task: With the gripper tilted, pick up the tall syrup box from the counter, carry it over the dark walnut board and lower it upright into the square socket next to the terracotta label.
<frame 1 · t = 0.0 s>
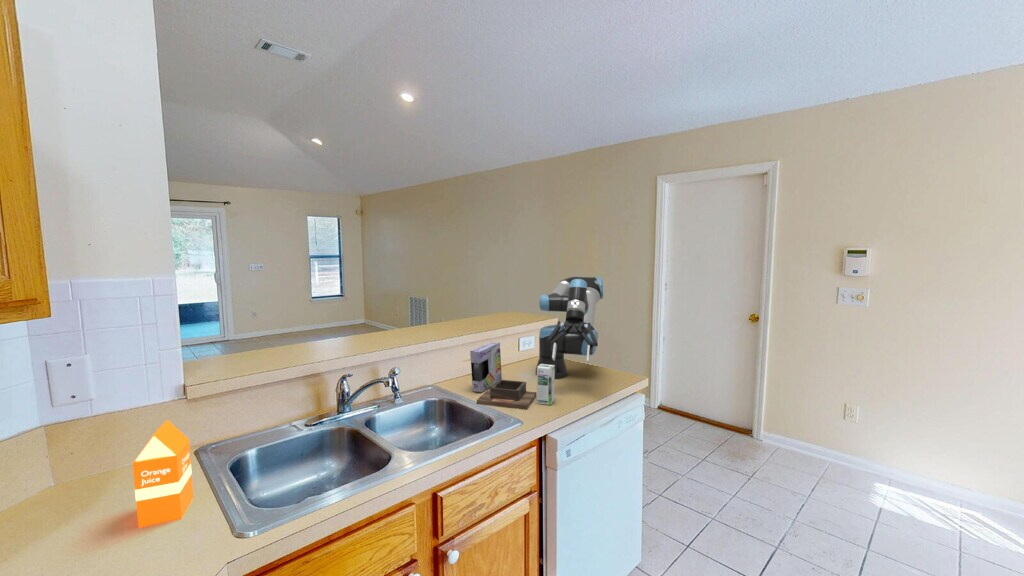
hand: (570, 360, 164), 15 cm above the worktop, tool tilted 35°, fingers open, 13 cm apart
socket board: (507, 399, 164), on the worktop
cake pan box: (487, 386, 179), on the worktop
syrup box: (545, 402, 161), on the worktop
orange juice: (167, 512, 94), on the worktop
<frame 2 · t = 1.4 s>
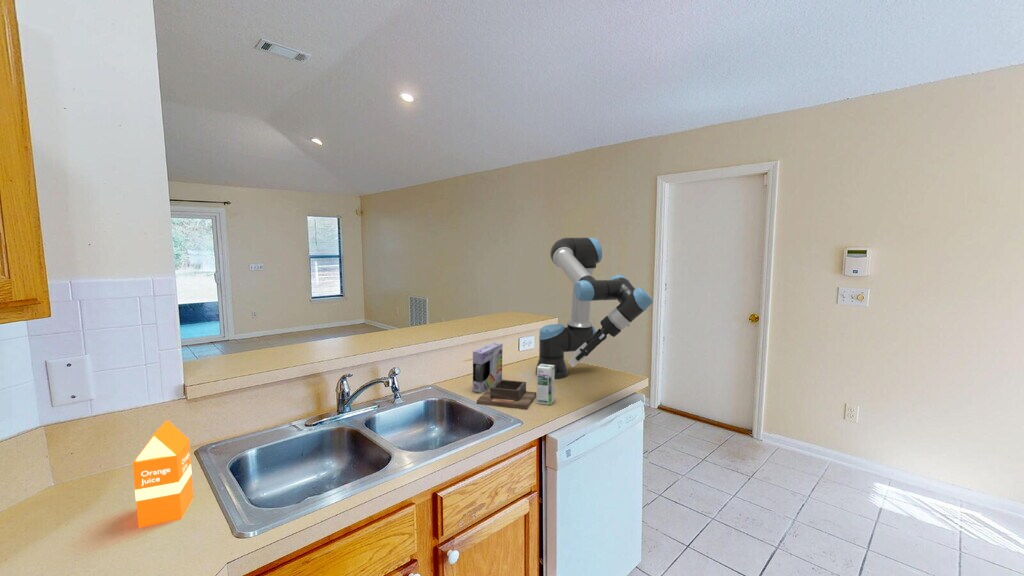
hand: (573, 360, 156), 18 cm above the worktop, tool tilted 45°, fingers open, 13 cm apart
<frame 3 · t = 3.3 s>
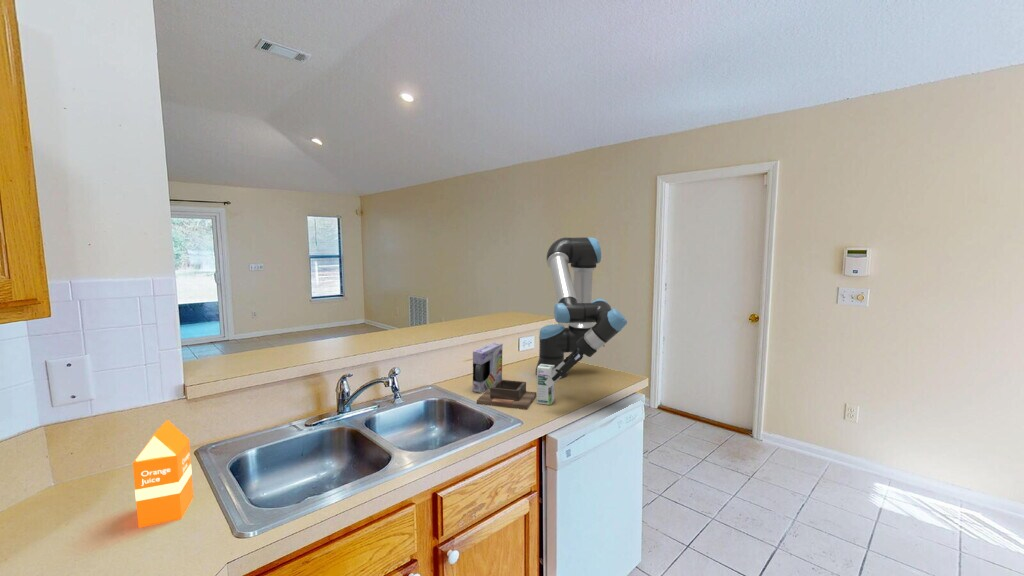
hand: (550, 379, 159), 10 cm above the worktop, tool tilted 45°, fingers open, 13 cm apart
nothing on the worktop moved.
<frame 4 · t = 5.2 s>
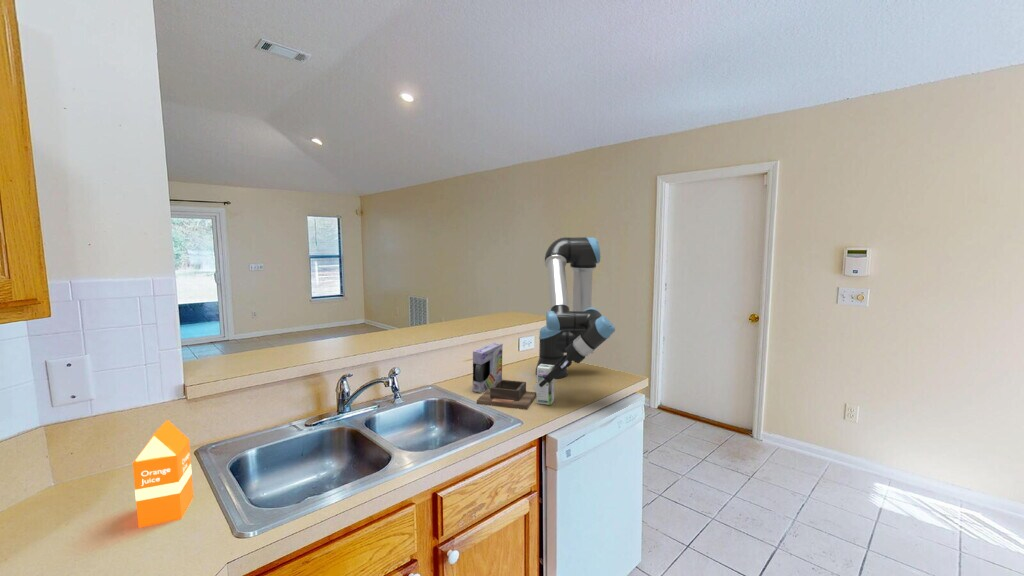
hand: (536, 387, 162), 5 cm above the worktop, tool tilted 45°, fingers closed on syrup box, 6 cm apart
syrup box: (545, 402, 161), on the worktop, touching gripper
everything else where it was.
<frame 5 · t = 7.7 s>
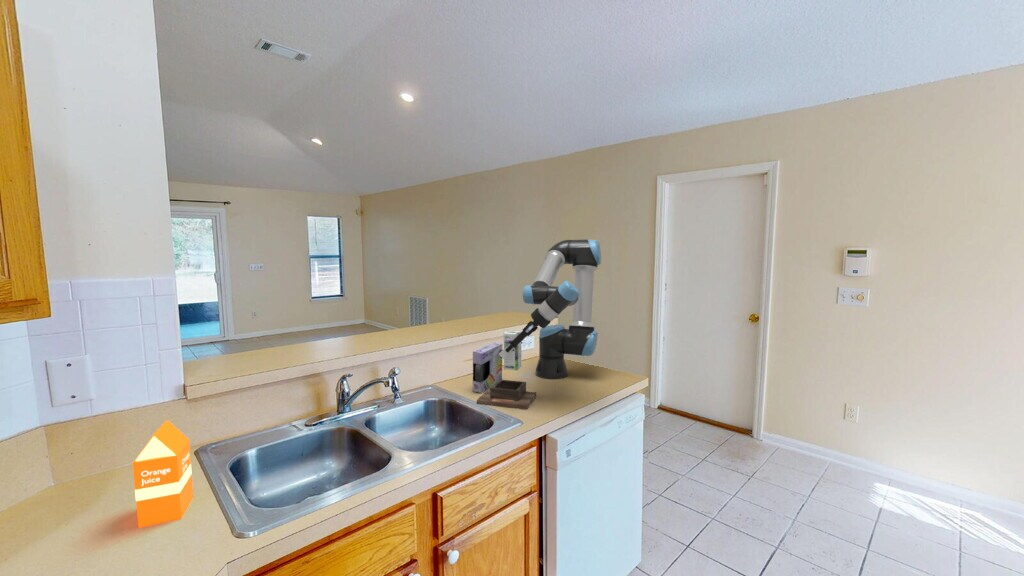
hand: (503, 354, 163), 18 cm above the worktop, tool tilted 45°, fingers closed on syrup box, 6 cm apart
syrup box: (512, 368, 163), point 12 cm above the worktop, touching gripper
everything else where it was.
when the fingers open (9 cm above the worktop, at t = 10.4 s): syrup box drops 2 cm, resting on socket board.
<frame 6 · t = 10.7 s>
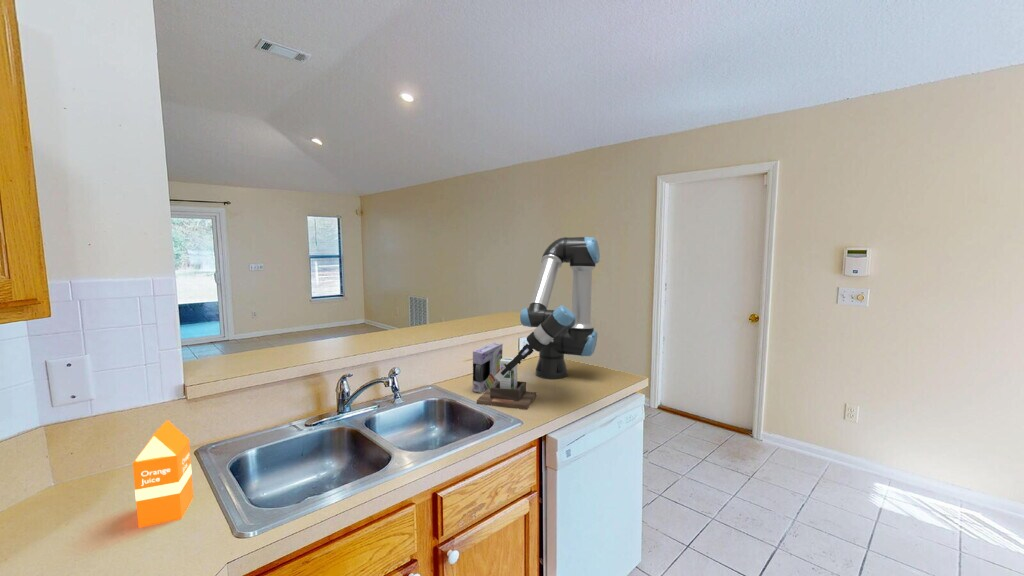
hand: (500, 374, 165), 9 cm above the worktop, tool tilted 45°, fingers open, 9 cm apart
syrup box: (508, 395, 165), point 1 cm above the worktop, touching socket board
everything else where it was.
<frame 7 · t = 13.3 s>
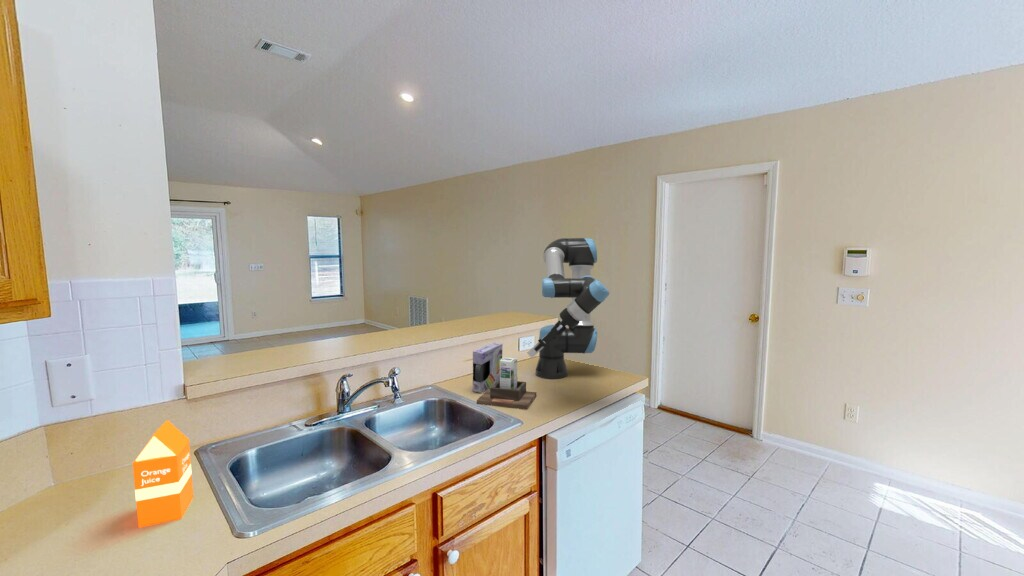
hand: (534, 351, 160), 20 cm above the worktop, tool tilted 45°, fingers open, 13 cm apart
nothing on the worktop moved.
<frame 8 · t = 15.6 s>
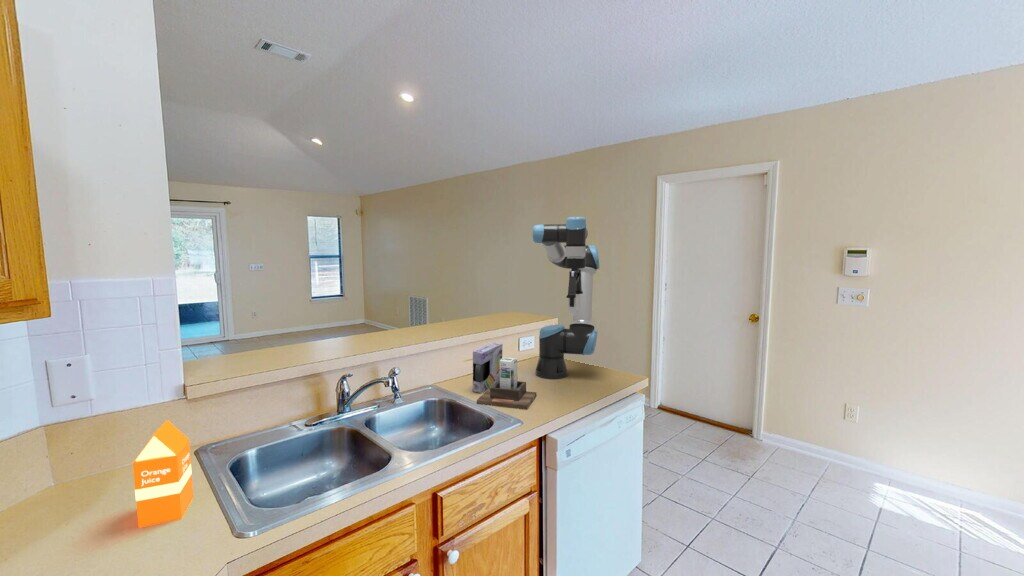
hand: (574, 312, 161), 35 cm above the worktop, tool pointing down, fingers open, 13 cm apart
nothing on the worktop moved.
at the end: syrup box 0.2 cm from the target spot on the socket board, point 1.3 cm above the socket board's base; syrup box tilted 0°; the gripper is holding nothing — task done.
